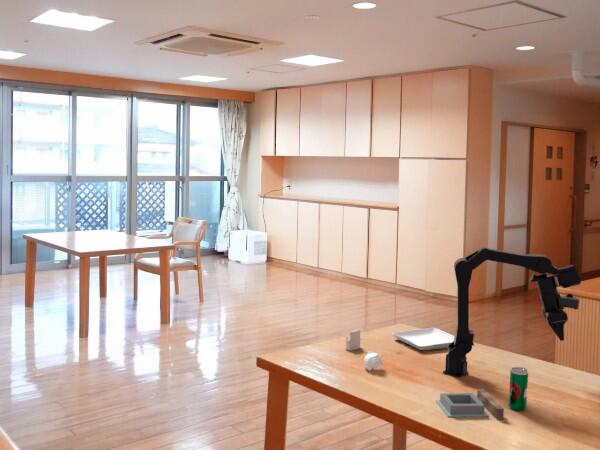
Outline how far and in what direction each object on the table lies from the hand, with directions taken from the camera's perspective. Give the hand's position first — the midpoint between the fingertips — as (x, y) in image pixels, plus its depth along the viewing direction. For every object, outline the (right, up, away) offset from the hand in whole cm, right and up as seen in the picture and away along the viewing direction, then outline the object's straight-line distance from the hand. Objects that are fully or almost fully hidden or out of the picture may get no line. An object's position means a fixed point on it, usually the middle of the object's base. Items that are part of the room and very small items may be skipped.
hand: (560, 337), depth 219 cm
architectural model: (-66, -11, +36) cm, 76 cm away
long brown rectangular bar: (-30, -17, -23) cm, 42 cm away
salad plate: (-36, -11, +45) cm, 58 cm away
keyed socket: (-39, -17, -24) cm, 49 cm away
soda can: (-22, -17, -23) cm, 36 cm away
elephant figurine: (-61, -13, +11) cm, 64 cm away
